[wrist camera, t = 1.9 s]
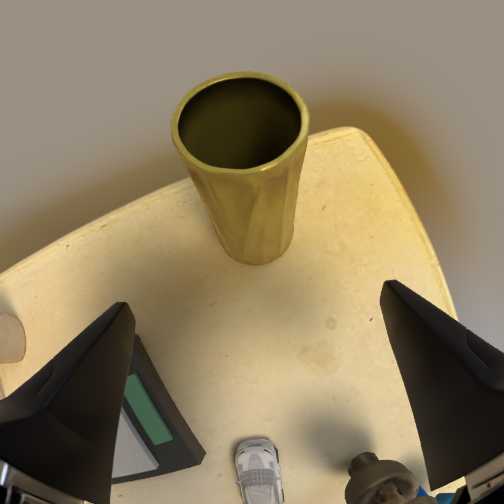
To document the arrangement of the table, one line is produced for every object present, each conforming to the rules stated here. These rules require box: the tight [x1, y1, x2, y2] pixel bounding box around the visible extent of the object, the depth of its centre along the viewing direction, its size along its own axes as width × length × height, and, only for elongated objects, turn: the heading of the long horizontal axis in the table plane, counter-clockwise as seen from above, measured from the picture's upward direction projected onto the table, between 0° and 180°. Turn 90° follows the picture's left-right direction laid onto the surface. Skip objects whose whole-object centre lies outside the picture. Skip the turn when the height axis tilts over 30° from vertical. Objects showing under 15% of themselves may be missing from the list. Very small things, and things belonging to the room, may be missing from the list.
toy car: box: [234, 439, 284, 504], centre depth 17 cm, size 4×8×3 cm, turn 7°
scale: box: [111, 334, 206, 484], centre depth 19 cm, size 12×14×3 cm
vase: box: [171, 72, 310, 265], centre depth 16 cm, size 6×6×14 cm
